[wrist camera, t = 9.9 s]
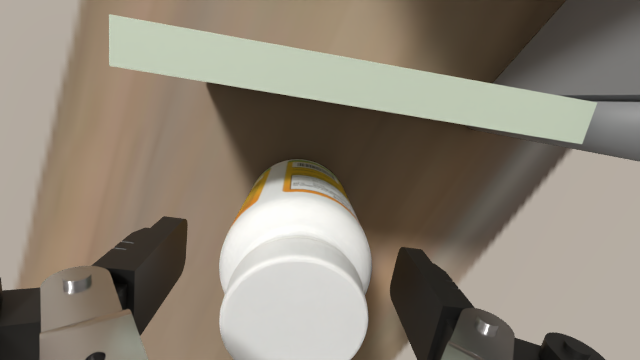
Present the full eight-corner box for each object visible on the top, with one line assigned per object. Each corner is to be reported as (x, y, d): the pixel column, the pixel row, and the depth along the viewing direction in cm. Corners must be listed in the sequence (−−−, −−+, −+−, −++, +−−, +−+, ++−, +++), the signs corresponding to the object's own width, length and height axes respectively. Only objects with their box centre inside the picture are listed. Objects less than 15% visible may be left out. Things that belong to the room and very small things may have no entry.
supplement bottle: (270, 260, 18) (238, 429, 9) (234, 176, 17) (152, 273, 8) (357, 230, 18) (417, 372, 9) (328, 143, 17) (362, 201, 8)
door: (461, 100, 16) (597, 102, 9) (455, 123, 17) (582, 144, 9) (204, 55, 15) (109, 14, 8) (202, 81, 15) (109, 65, 8)
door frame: (628, -76, 15) (1078, -314, 6) (647, -51, 15) (1101, -244, 7) (201, 405, 21) (129, 627, 12) (221, 416, 21) (166, 640, 12)
